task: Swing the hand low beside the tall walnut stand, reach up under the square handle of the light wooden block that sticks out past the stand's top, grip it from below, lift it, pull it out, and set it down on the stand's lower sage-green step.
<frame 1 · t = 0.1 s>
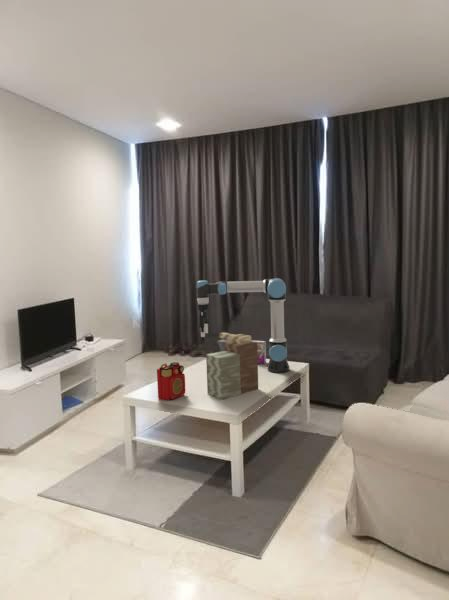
hand: (204, 335, 308), 28 cm above the table, tool pointing down, fingers open, 13 cm apart
light wooden block: (240, 342, 276), point 29 cm above the table, touching stand
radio: (172, 396, 269), on the table
stand: (233, 391, 275), on the table
coffeepot: (226, 359, 353), on the table
candy bar box: (258, 363, 340), on the table
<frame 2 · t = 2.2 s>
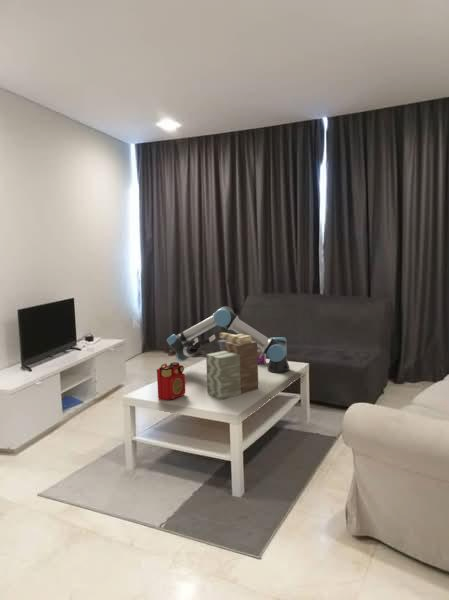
hand: (206, 337, 293), 29 cm above the table, tool pointing upward, fingers open, 13 cm apart
nothing on the table moved.
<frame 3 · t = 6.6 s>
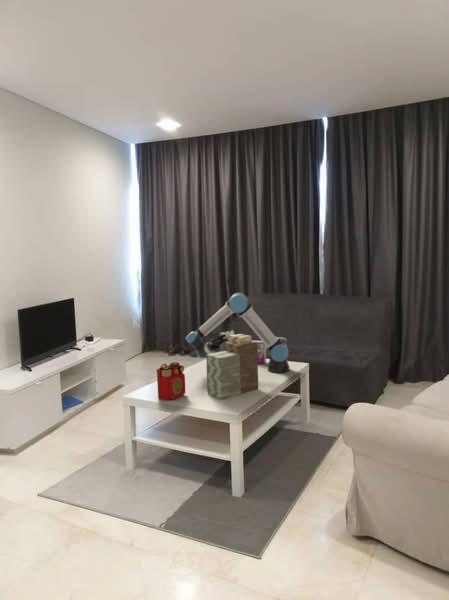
hand: (230, 332, 282), 34 cm above the table, tool pointing upward, fingers closed on light wooden block, 3 cm apart
light wooden block: (240, 342, 276), point 29 cm above the table, touching gripper
everything else where it was.
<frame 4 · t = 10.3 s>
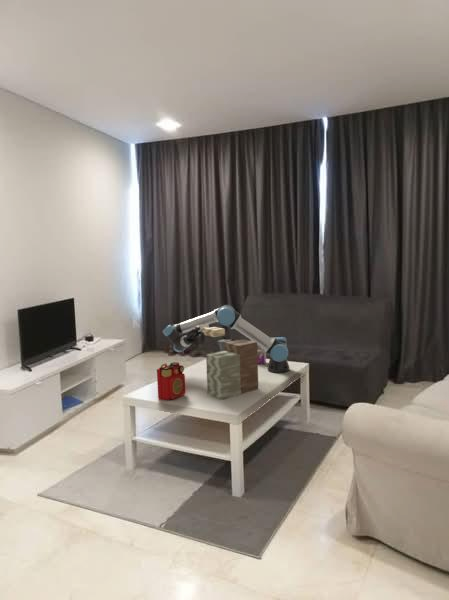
hand: (205, 325, 283), 38 cm above the table, tool pointing upward, fingers closed on light wooden block, 3 cm apart
light wooden block: (214, 335, 277), point 34 cm above the table, touching gripper
everything else where it was.
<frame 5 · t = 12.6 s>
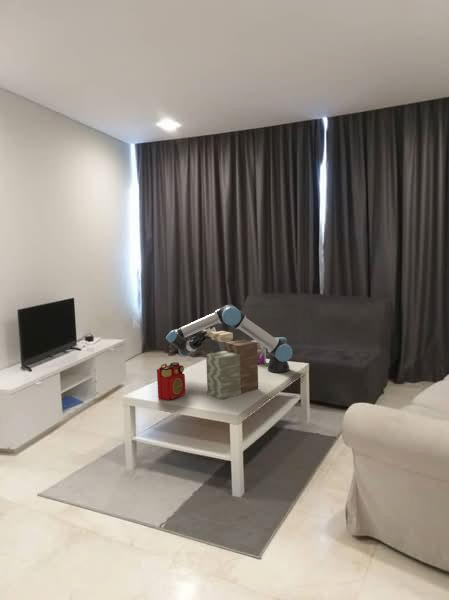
hand: (212, 329, 273), 38 cm above the table, tool pointing upward, fingers closed on light wooden block, 3 cm apart
light wooden block: (222, 339, 267), point 33 cm above the table, touching gripper
everything else where it was.
when the fingers open (30 cm above the table, at t = 14.5 s): light wooden block stays where it is, resting on stand.
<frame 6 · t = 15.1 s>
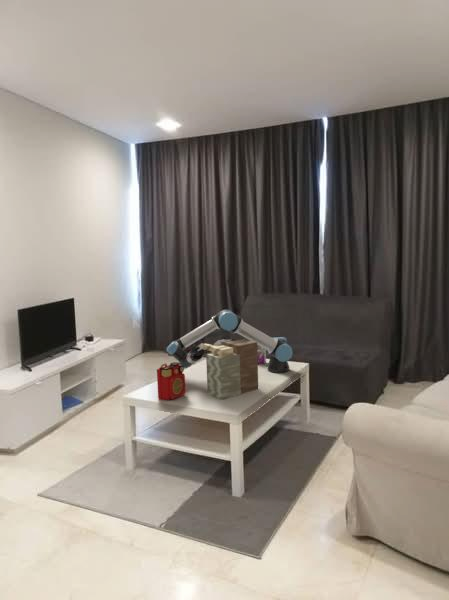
hand: (211, 343, 276), 29 cm above the table, tool pointing upward, fingers open, 12 cm apart
light wooden block: (222, 354, 268), point 24 cm above the table, touching stand
everything else where it was.
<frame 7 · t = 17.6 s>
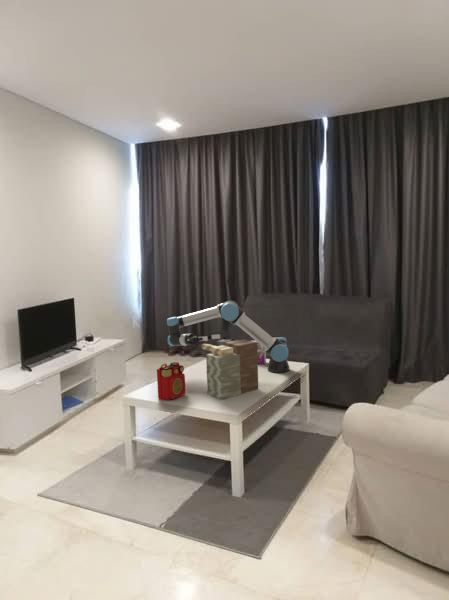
hand: (213, 337, 289), 30 cm above the table, tool horizontal, fingers open, 13 cm apart
nothing on the table moved.
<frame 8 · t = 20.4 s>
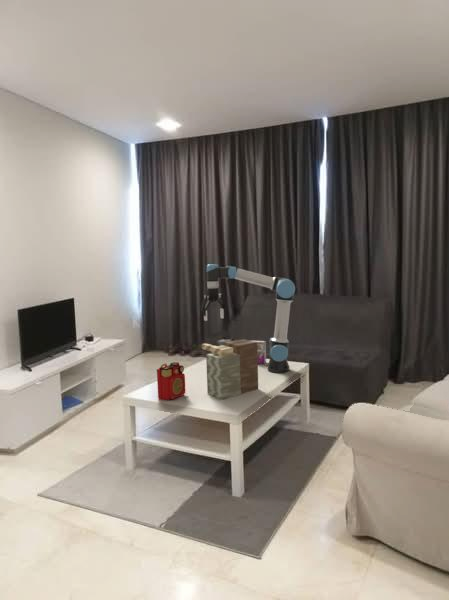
hand: (214, 319, 305), 39 cm above the table, tool pointing down, fingers open, 13 cm apart
nothing on the table moved.
at the end: light wooden block inside the target area on the stand (0.1 cm from its centre), point 24.0 cm above the stand's base; light wooden block tilted 0°; the gripper is holding nothing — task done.
